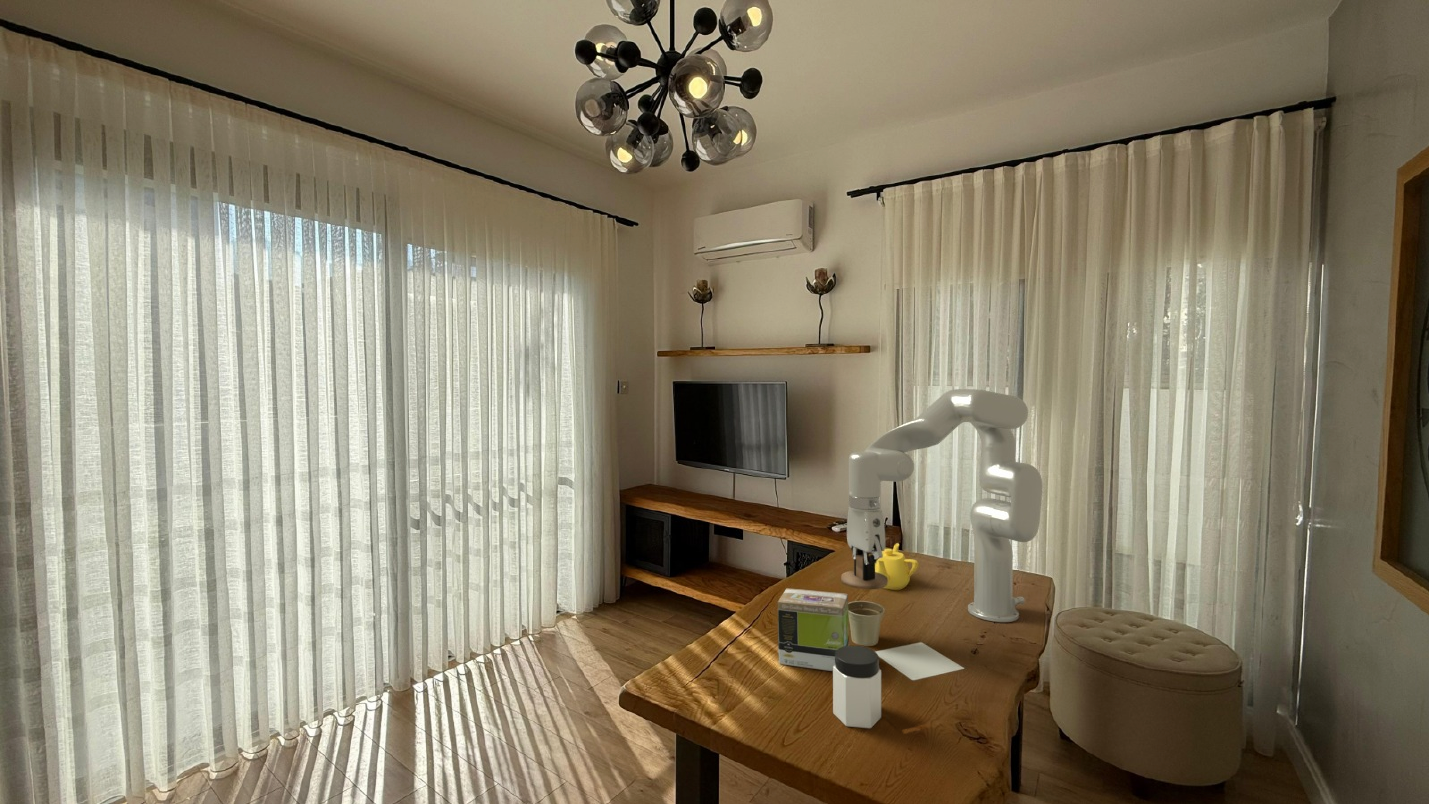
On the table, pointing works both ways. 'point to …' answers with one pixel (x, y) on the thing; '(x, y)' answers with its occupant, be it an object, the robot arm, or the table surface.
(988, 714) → the table surface
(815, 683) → the table surface
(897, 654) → the mat
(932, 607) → the table surface
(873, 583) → the lid
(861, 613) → the flower pot
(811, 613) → the tea box
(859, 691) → the jar
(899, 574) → the teapot
